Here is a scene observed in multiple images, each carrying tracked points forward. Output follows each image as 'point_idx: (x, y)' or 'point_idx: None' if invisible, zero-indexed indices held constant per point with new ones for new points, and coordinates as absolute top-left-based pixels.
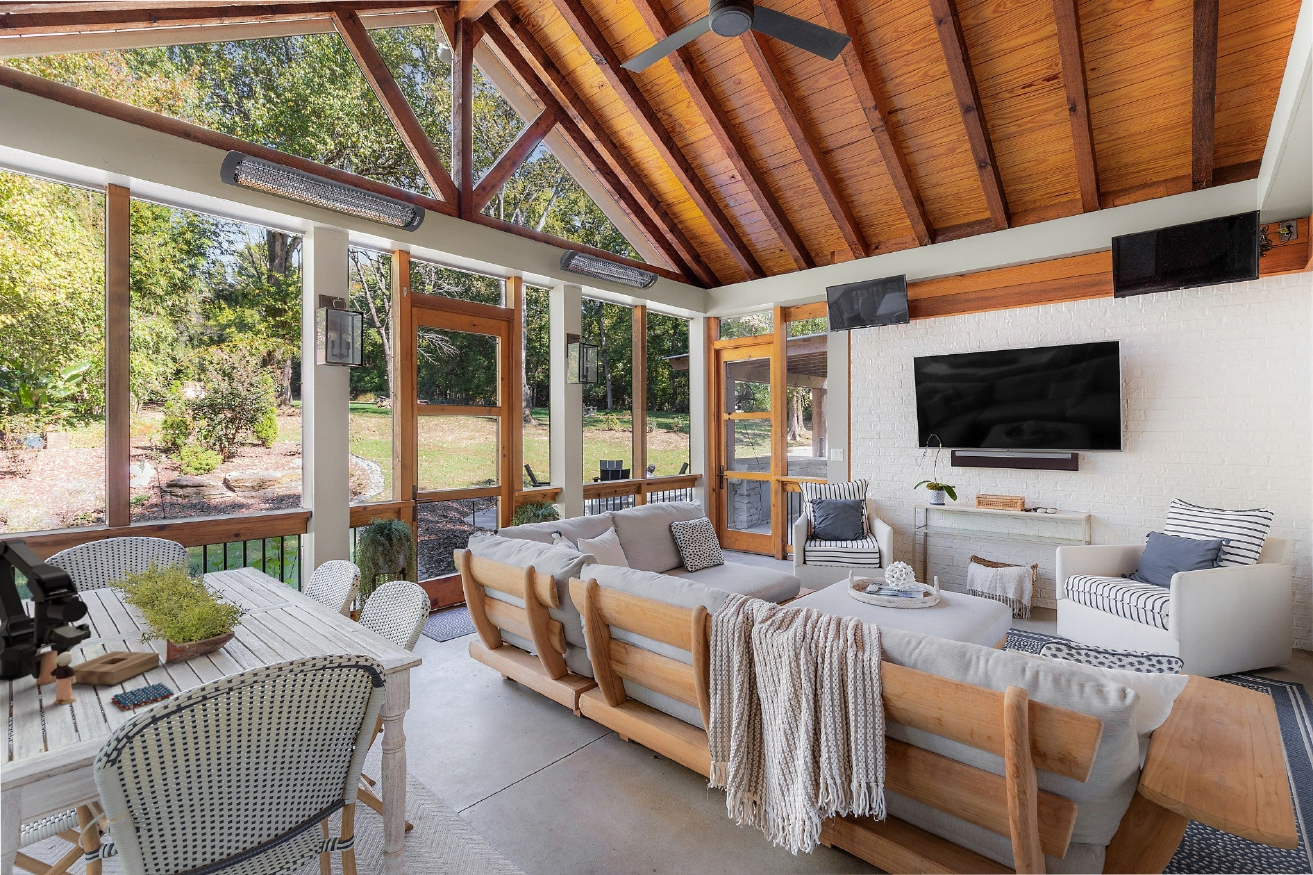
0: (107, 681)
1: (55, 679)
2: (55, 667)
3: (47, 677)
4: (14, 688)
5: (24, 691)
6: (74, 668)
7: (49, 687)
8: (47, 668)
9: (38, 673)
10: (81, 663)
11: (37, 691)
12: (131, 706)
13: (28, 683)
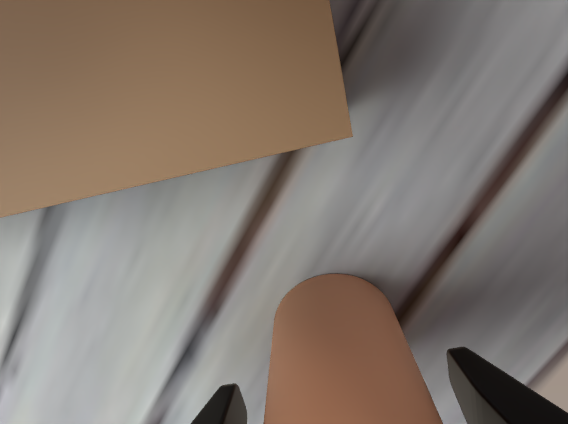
0: None
1: (300, 291)
2: (307, 386)
3: (378, 316)
4: None
5: (547, 271)
6: (250, 15)
7: (426, 166)
8: (410, 405)
9: (500, 381)
10: (57, 195)
11: (532, 161)
12: None
13: None
